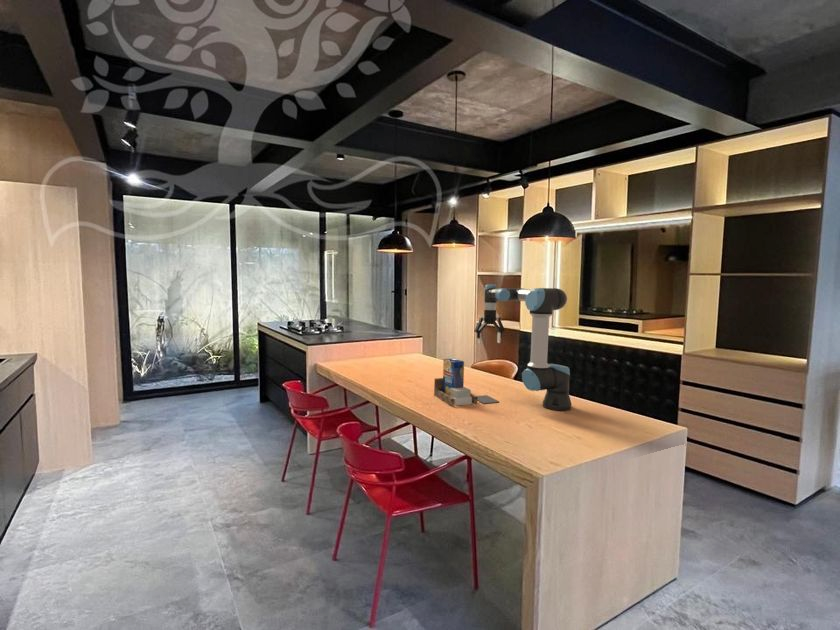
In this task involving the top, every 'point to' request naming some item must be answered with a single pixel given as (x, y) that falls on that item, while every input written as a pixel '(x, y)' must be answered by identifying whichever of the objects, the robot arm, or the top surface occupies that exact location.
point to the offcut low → (462, 400)
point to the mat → (486, 399)
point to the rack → (444, 397)
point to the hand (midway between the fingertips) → (489, 343)
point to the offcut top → (460, 392)
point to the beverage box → (452, 374)
